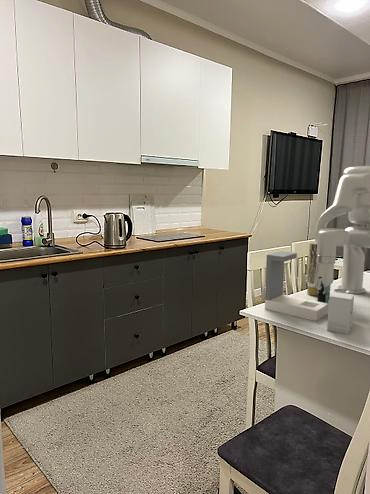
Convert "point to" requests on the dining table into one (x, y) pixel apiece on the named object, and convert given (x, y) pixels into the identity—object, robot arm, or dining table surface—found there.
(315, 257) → the paper tube
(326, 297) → the peg
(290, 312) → the socket block
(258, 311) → the dining table surface
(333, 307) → the supplement box
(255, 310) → the dining table surface
